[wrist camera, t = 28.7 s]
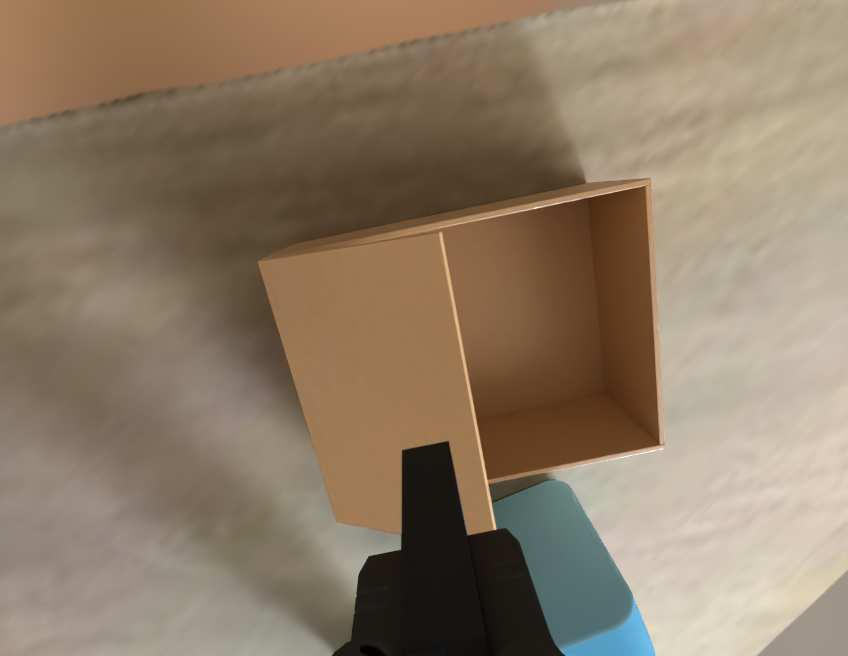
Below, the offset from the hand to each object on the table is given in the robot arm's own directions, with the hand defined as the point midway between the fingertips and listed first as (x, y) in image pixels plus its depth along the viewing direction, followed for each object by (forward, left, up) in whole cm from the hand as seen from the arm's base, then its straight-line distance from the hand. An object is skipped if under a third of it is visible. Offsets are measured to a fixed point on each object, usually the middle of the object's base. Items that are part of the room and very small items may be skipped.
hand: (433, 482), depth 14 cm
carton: (+3, 0, -17) cm, 17 cm away
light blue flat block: (+3, -16, -17) cm, 24 cm away
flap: (-2, 0, -7) cm, 7 cm away
